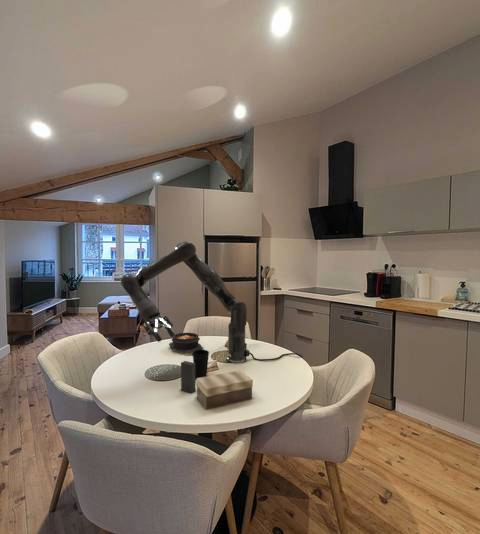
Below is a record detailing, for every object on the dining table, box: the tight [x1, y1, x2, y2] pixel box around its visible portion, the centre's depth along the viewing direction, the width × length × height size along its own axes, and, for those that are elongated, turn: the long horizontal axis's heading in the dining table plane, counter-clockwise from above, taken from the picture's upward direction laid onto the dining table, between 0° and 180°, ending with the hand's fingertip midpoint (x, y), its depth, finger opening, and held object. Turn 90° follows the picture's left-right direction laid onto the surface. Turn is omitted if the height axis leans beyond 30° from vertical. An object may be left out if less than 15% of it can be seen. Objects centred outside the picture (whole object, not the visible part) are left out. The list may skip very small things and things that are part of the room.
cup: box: [192, 349, 210, 380], centre depth 147 cm, size 8×8×12 cm
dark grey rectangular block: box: [180, 360, 196, 394], centre depth 133 cm, size 3×6×12 cm, turn 60°
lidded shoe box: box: [196, 369, 254, 410], centre depth 126 cm, size 20×11×8 cm, turn 116°
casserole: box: [168, 332, 204, 354], centre depth 189 cm, size 25×19×8 cm
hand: (167, 338), depth 138 cm, fingers open, 8 cm apart
